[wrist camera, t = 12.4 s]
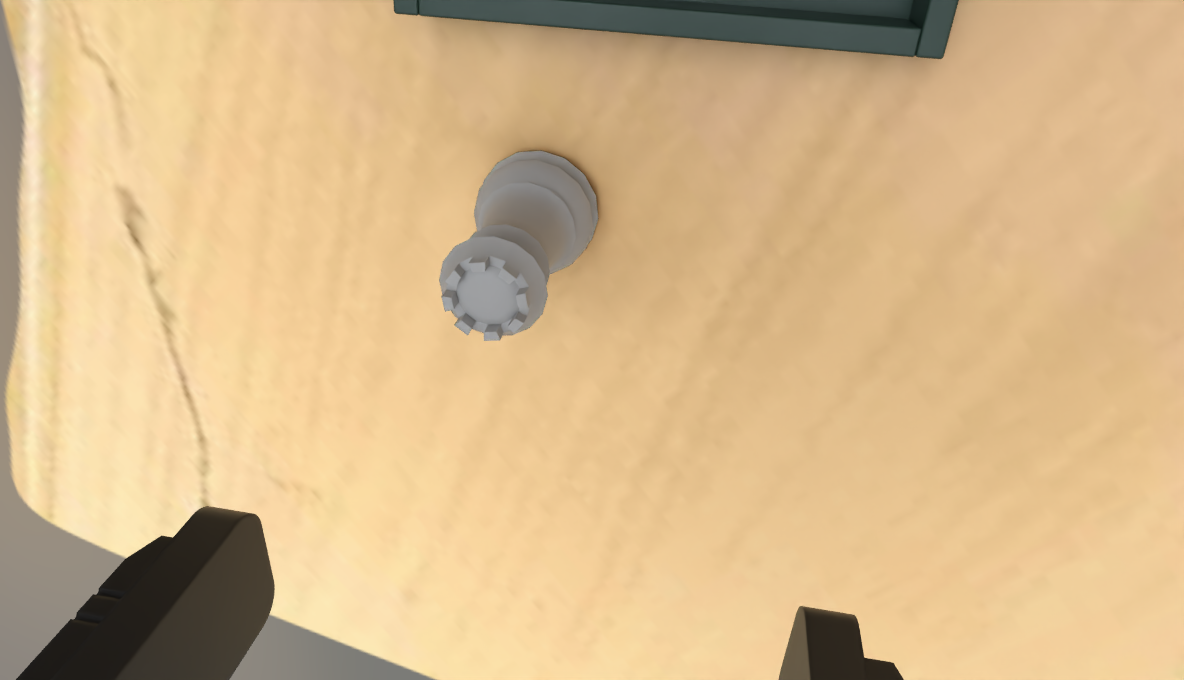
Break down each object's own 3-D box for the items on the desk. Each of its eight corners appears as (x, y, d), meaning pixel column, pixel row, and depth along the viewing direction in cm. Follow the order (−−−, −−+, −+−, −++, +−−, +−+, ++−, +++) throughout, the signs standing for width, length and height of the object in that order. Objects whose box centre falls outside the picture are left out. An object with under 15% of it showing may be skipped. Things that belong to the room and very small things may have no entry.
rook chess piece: (481, 252, 31) (410, 357, 24) (483, 139, 28) (406, 218, 21) (594, 268, 30) (556, 379, 23) (605, 154, 28) (567, 241, 21)
